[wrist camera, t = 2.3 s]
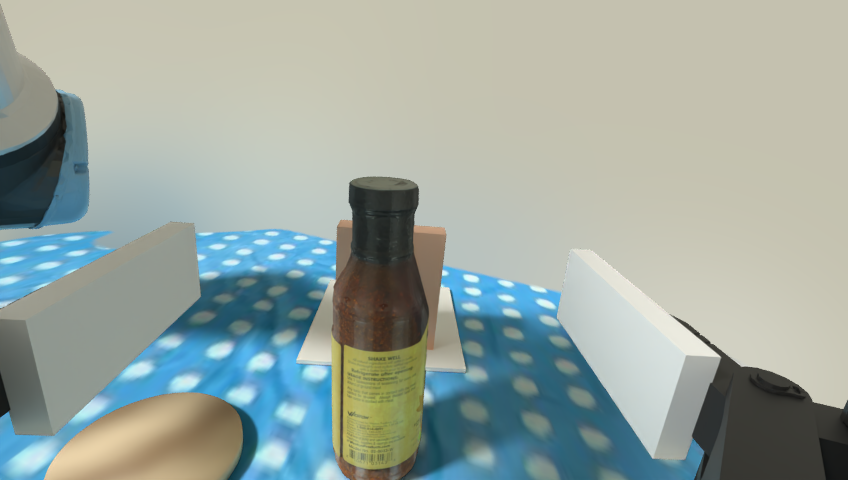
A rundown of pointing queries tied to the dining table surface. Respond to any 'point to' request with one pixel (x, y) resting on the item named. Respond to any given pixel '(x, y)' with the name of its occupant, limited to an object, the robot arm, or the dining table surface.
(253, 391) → the dining table surface
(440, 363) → the white mat
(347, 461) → the sauce bottle
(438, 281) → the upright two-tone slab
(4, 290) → the dining table surface
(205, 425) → the cork coaster
